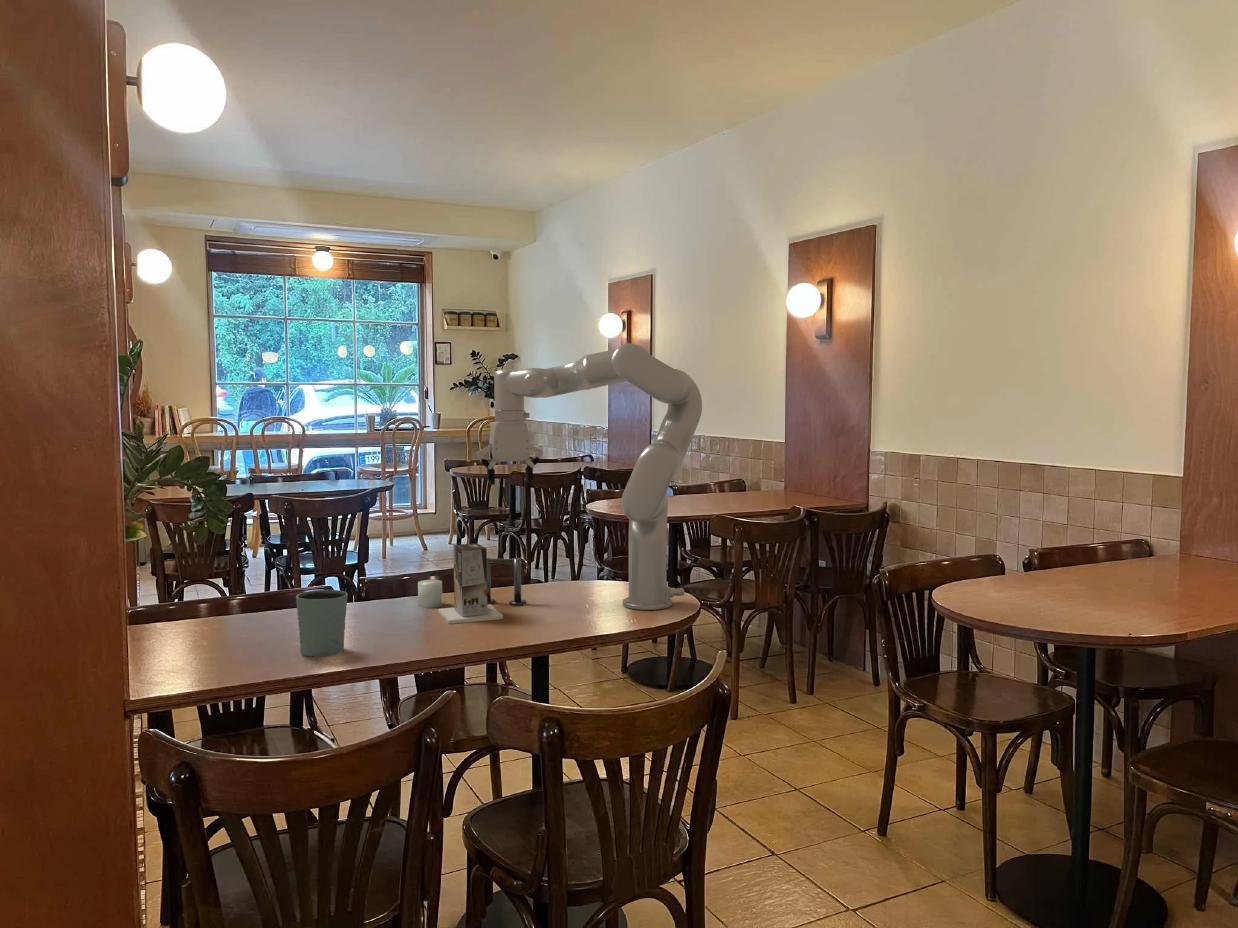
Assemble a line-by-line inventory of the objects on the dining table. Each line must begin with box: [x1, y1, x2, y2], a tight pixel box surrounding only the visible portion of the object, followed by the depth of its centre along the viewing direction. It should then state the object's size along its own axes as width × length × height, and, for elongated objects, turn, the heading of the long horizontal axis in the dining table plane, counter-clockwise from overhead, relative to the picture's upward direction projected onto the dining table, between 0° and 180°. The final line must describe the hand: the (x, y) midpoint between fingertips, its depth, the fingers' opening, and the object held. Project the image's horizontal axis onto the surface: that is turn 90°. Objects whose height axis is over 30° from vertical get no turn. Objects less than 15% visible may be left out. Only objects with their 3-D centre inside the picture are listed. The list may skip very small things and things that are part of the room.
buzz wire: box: [453, 557, 527, 608], centre depth 234 cm, size 18×8×12 cm, turn 111°
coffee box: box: [452, 543, 488, 617], centre depth 222 cm, size 9×6×16 cm
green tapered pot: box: [295, 589, 349, 657], centre depth 191 cm, size 10×10×12 cm
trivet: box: [437, 604, 504, 625], centre depth 223 cm, size 13×13×1 cm
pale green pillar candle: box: [417, 579, 443, 609], centre depth 234 cm, size 6×6×6 cm
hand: (510, 483), depth 239 cm, fingers open, 9 cm apart
